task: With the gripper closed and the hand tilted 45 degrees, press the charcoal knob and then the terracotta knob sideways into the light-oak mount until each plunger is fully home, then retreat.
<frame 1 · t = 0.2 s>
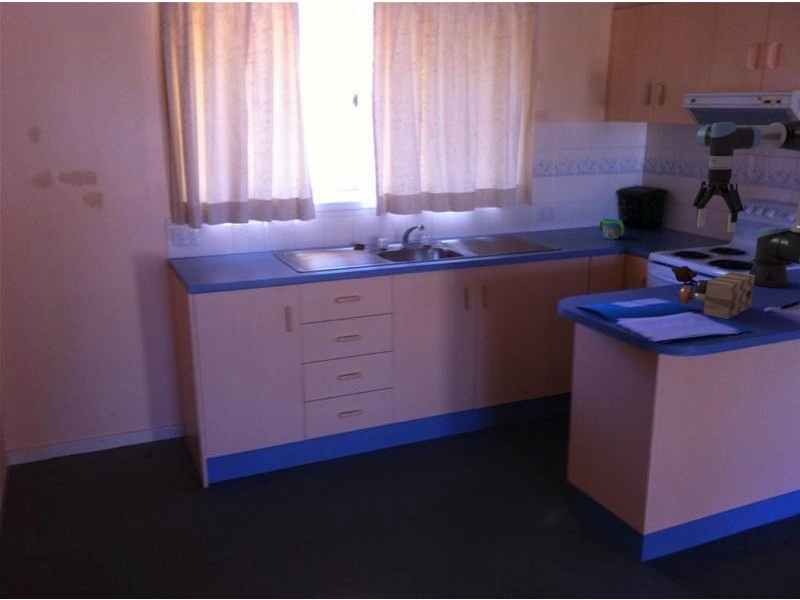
hand: (715, 229, 252), 27 cm above the worktop, tool pointing down, fingers open, 13 cm apart
charcoal knob: (713, 290, 259), point 5 cm above the worktop, slide at 0.0 cm
snack cup: (610, 239, 387), on the worktop
mount: (727, 311, 250), on the worktop
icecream: (682, 282, 292), on the worktop
terracotta knob: (697, 297, 250), point 5 cm above the worktop, slide at 0.0 cm
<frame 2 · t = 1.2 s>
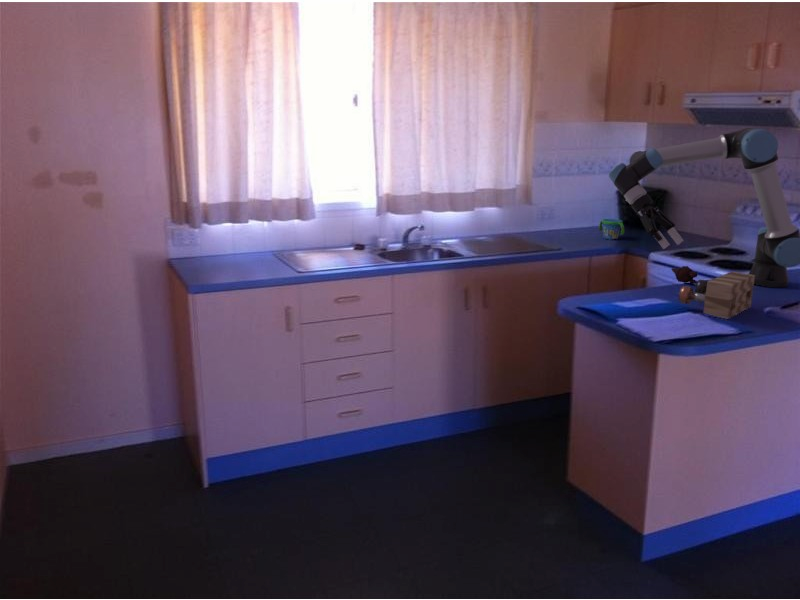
hand: (673, 244, 266), 19 cm above the worktop, tool tilted 45°, fingers open, 11 cm apart
nothing on the worktop moved.
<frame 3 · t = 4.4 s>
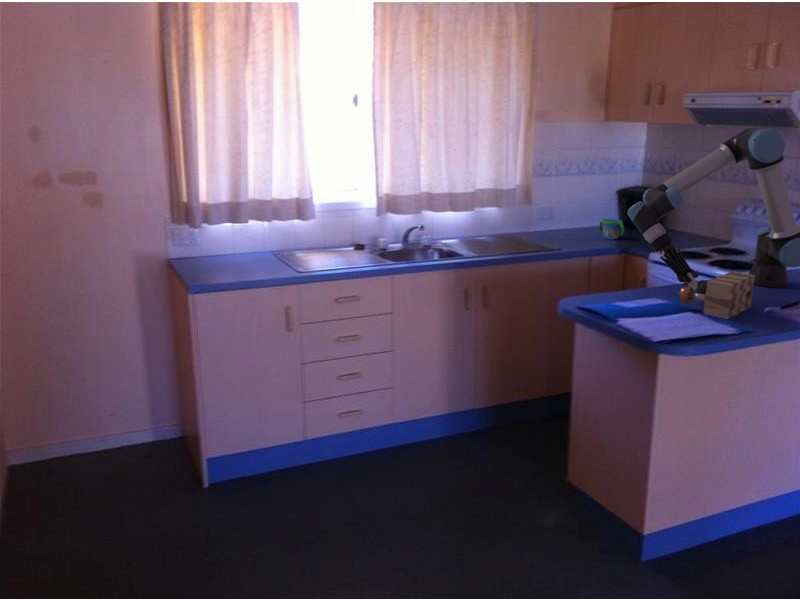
hand: (696, 288, 263), 4 cm above the worktop, tool tilted 45°, fingers closed
charcoal knob: (715, 290, 259), point 5 cm above the worktop, slide at 0.7 cm, touching gripper
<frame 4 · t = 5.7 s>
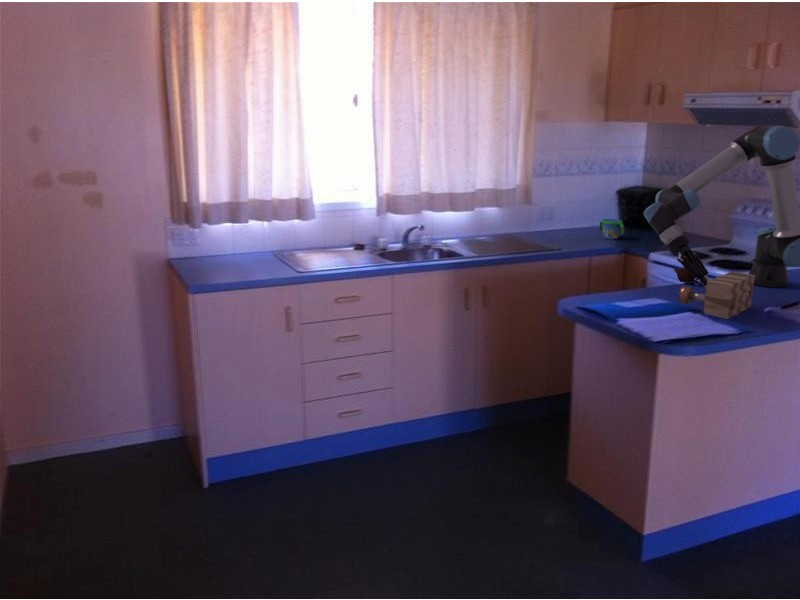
hand: (713, 291, 259), 4 cm above the worktop, tool tilted 45°, fingers closed
charcoal knob: (732, 293, 255), point 5 cm above the worktop, slide at 6.9 cm, touching gripper
everything else where it was.
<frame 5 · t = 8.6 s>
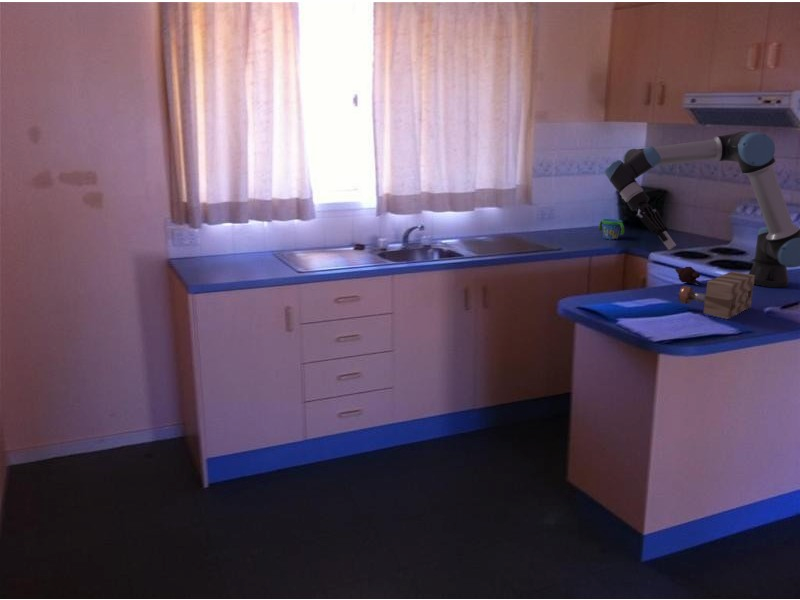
hand: (672, 247, 261), 19 cm above the worktop, tool tilted 45°, fingers closed
charcoal knob: (732, 293, 255), point 5 cm above the worktop, slide at 6.7 cm
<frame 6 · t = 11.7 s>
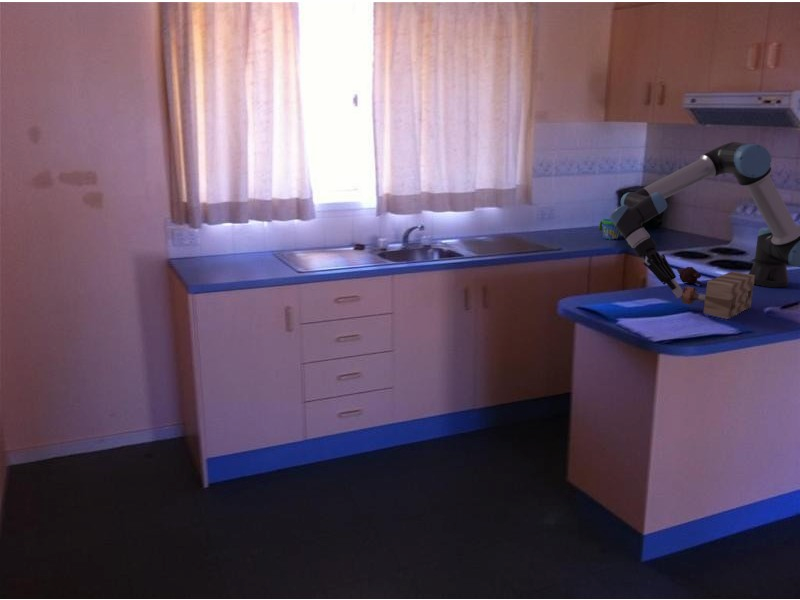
hand: (681, 295, 253), 4 cm above the worktop, tool tilted 45°, fingers closed
terracotta knob: (700, 297, 249), point 5 cm above the worktop, slide at 1.1 cm, touching gripper
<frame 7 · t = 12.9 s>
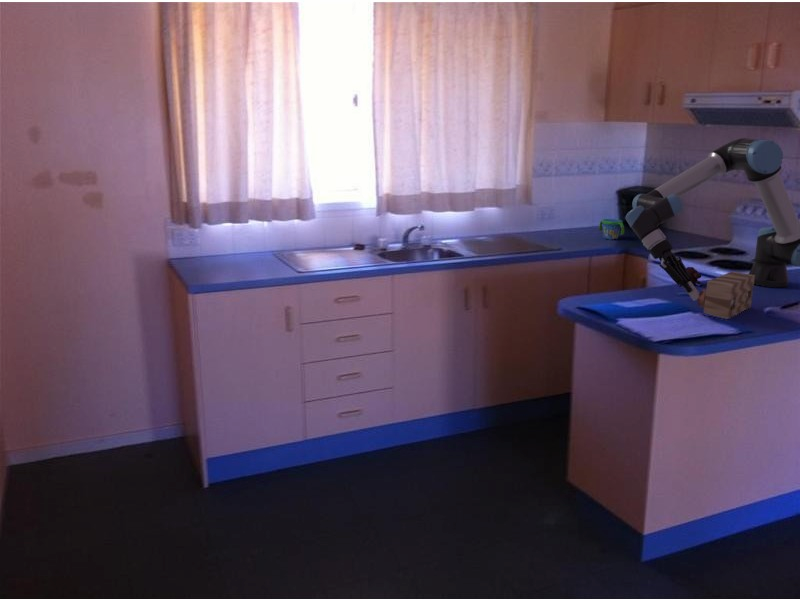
hand: (697, 298, 249), 4 cm above the worktop, tool tilted 45°, fingers closed
terracotta knob: (717, 300, 245), point 5 cm above the worktop, slide at 6.8 cm, touching gripper
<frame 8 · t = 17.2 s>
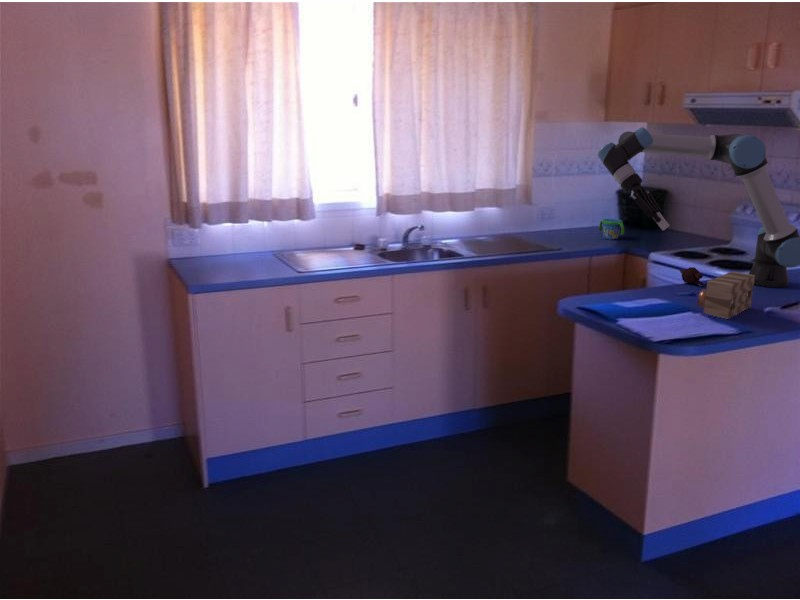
hand: (666, 228, 263), 26 cm above the worktop, tool tilted 45°, fingers closed
terracotta knob: (716, 300, 245), point 5 cm above the worktop, slide at 6.7 cm
at the end: charcoal knob slide at 6.7 cm; terracotta knob slide at 6.7 cm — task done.
